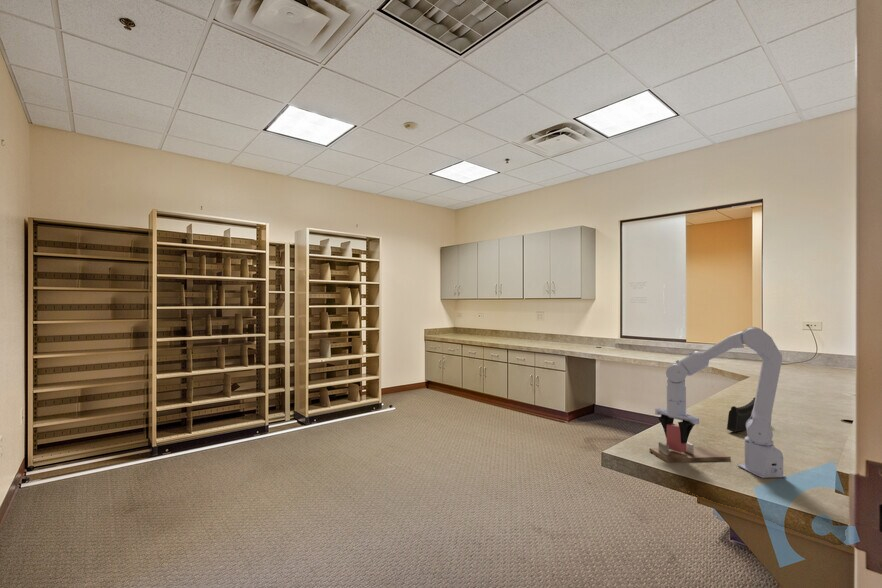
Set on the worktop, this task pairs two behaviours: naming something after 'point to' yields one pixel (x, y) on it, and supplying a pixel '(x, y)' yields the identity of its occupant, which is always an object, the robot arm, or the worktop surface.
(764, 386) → the robot arm
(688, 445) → the sliding bookend
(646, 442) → the worktop surface
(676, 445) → the book
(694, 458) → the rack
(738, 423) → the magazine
